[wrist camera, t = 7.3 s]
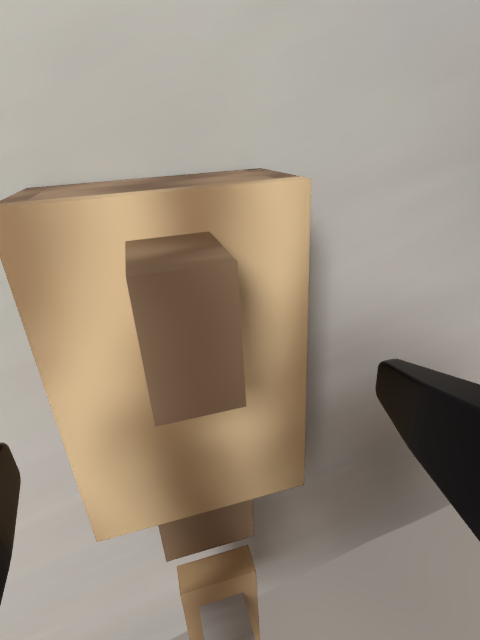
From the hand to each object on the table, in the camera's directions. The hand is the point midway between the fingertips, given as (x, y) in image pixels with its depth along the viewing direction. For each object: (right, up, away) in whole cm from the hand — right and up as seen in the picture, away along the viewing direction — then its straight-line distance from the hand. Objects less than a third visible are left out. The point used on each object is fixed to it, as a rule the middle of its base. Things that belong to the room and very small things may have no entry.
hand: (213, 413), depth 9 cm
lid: (-2, 0, +9) cm, 9 cm away
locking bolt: (-1, -14, +14) cm, 20 cm away
